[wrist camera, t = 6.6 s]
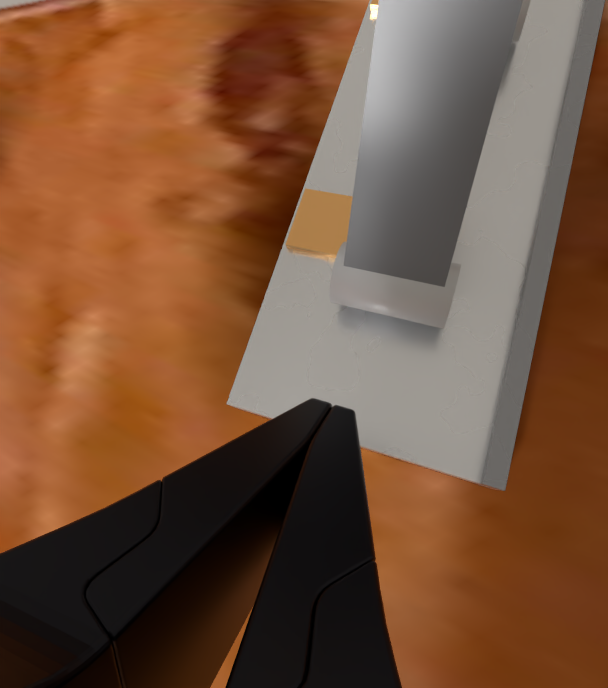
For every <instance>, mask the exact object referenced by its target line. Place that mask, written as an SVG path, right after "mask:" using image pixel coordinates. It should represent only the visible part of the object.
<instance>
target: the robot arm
mask: <svg viewBox="0 0 608 688" xmlns="http://www.w3.org/2000/svg"><path fill="white" fill-rule="evenodd" d="M375 559H376V558H375V551H374V543H373V536H372V529H371V522H370V515H369V507H368V500H367V493H366V486H365V478H364V471H363V464H362V457H361V450H360V442H359V435H358V428H357V421H356V414H355V411H354V410H352V409H349V408H346V407H343V406H339V405H334V406H333V407H332V404H331V403H329V402H326V401H322V400H319V399H315V398H311V399H308V400H306V401H305V402H303V403H301V404H299V405H297V406H295V407H293V408H292V409H290V410H288V411H286V412H284V413H282V414H280V415H279V416H277V417H275V418H273V419H271V420H269V421H267V422H266V423H264V424H262V425H260V426H258V427H256V428H254V429H253V430H251V431H249V432H247V433H245V434H243V435H241V436H239V437H238V438H236V439H234V440H232V441H230V442H228V443H226V444H225V445H223V446H221V447H219V448H217V449H215V450H213V451H212V452H210V453H208V454H206V455H204V456H202V457H200V458H199V459H197V460H195V461H193V462H191V463H189V464H187V465H186V466H184V467H182V468H180V469H178V470H176V471H174V472H173V473H171V474H169V475H167V476H165V477H163V479H162V481H161V480H157V481H155V482H154V483H152V484H150V485H148V486H146V487H144V488H142V489H141V490H139V491H137V492H135V493H133V494H131V495H129V496H127V497H125V498H123V499H121V500H119V501H117V502H115V503H113V504H111V505H109V506H107V507H105V508H103V509H101V510H99V511H96V512H94V513H92V514H90V515H88V516H85V517H83V518H81V519H79V520H77V521H74V522H72V523H70V524H68V525H65V526H63V527H61V528H58V529H56V530H54V531H52V532H49V533H47V534H45V535H42V536H40V537H38V538H35V539H33V540H31V541H28V542H26V543H24V544H21V545H19V546H17V547H14V548H12V549H10V550H7V551H5V552H3V553H0V688H210V687H211V685H212V683H213V681H214V679H215V677H216V675H217V673H218V671H219V670H220V668H221V666H222V664H223V662H224V660H225V658H226V656H227V654H228V653H229V651H230V649H231V647H232V645H233V643H234V641H235V639H236V637H237V635H238V634H239V632H240V630H241V628H242V626H243V624H244V622H245V620H246V618H247V616H248V615H249V613H250V611H251V609H252V607H253V609H252V612H251V615H250V618H249V621H248V624H247V626H246V629H245V632H244V635H243V638H242V641H241V644H240V647H239V650H238V653H237V656H236V659H235V662H234V664H233V667H232V670H231V673H230V676H229V679H228V682H227V685H226V688H402V686H401V682H400V678H399V675H398V671H397V667H396V663H395V659H394V654H393V650H392V646H391V642H390V637H389V633H388V629H387V625H386V619H385V614H384V608H383V602H382V596H381V591H380V584H379V577H378V570H377V564H376V562H375ZM253 605H254V606H253Z"/></svg>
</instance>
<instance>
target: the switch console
mask: <svg viewBox="0 0 608 688" xmlns="http://www.w3.org/2000/svg"><path fill="white" fill-rule="evenodd" d="M378 2H379V0H370V2H369V5H368V7H367V10H366V13H365V16H364V19H363V21H362V24H361V27H360V30H359V33H358V36H357V38H356V41H355V44H354V47H353V50H352V52H351V55H350V58H349V61H348V64H347V66H346V69H345V72H344V75H343V78H342V81H341V83H340V86H339V89H338V92H337V95H336V97H335V100H334V103H333V106H332V109H331V111H330V114H329V117H328V120H327V123H326V126H325V128H324V131H323V134H322V137H321V140H320V142H319V145H318V148H317V151H316V154H315V156H314V159H313V162H312V165H311V168H310V171H309V173H308V176H307V179H306V182H305V185H304V187H303V190H302V193H301V196H300V199H299V201H298V204H297V207H296V210H295V213H294V216H293V218H292V221H291V224H290V227H289V230H288V232H287V235H286V238H285V241H284V244H283V246H282V249H281V252H280V255H279V258H278V261H277V263H276V266H275V269H274V272H273V275H272V277H271V280H270V283H269V286H268V289H267V291H266V294H265V297H264V300H263V303H262V306H261V308H260V311H259V314H258V317H257V320H256V322H255V325H254V328H253V331H252V334H251V336H250V339H249V342H248V345H247V348H246V351H245V353H244V356H243V359H242V362H241V365H240V367H239V370H238V373H237V376H236V379H235V381H234V384H233V387H232V390H231V393H230V396H229V398H228V401H227V405H230V406H232V407H234V408H237V409H240V410H243V411H246V412H250V413H253V414H256V415H259V416H262V417H265V418H269V419H273V418H275V417H277V416H279V415H280V414H282V413H284V412H286V411H288V410H290V409H292V408H293V407H295V406H297V405H299V404H301V403H303V402H305V401H306V400H308V399H311V398H315V399H319V400H322V401H326V402H329V403H331V404H332V407H333V406H334V405H339V406H343V407H346V408H349V409H352V410H354V411H355V414H356V421H357V428H358V435H359V442H360V447H361V448H364V449H367V450H370V451H373V452H377V453H380V454H383V455H386V456H389V457H392V458H396V459H399V460H402V461H405V462H408V463H411V464H415V465H418V466H421V467H424V468H427V469H430V470H434V471H437V472H440V473H443V474H446V475H450V476H453V477H456V478H459V479H462V480H465V481H469V482H472V483H475V484H478V485H481V486H484V487H488V488H491V489H494V490H502V491H505V489H506V484H507V479H508V474H509V469H510V464H511V459H512V454H513V449H514V445H515V440H516V435H517V430H518V425H519V420H520V415H521V410H522V405H523V400H524V395H525V391H526V386H527V381H528V376H529V371H530V366H531V361H532V356H533V351H534V346H535V342H536V337H537V332H538V327H539V322H540V317H541V312H542V307H543V302H544V297H545V292H546V288H547V283H548V278H549V273H550V268H551V263H552V258H553V253H554V248H555V243H556V238H557V234H558V229H559V224H560V219H561V214H562V209H563V204H564V199H565V194H566V189H567V184H568V180H569V175H570V170H571V165H572V160H573V155H574V150H575V145H576V140H577V135H578V130H579V126H580V121H581V116H582V111H583V106H584V101H585V96H586V91H587V86H588V81H589V76H590V72H591V67H592V62H593V57H594V52H595V47H596V42H597V37H598V32H599V27H600V23H601V18H602V13H603V8H604V3H605V0H531V1H530V5H529V8H528V12H527V15H526V19H525V22H524V25H523V29H522V32H521V35H520V38H519V41H518V42H511V46H510V50H509V53H508V57H507V61H506V64H505V68H504V72H503V75H502V79H501V83H500V86H499V90H498V93H497V97H496V101H495V104H494V108H493V112H492V115H491V119H490V123H489V126H488V130H487V134H486V137H485V141H484V145H483V148H482V152H481V156H480V159H479V163H478V167H477V170H476V174H475V178H474V181H473V185H472V189H471V192H470V196H469V200H468V203H467V207H466V211H465V214H464V218H463V222H462V225H461V229H460V233H459V236H458V240H457V244H456V247H455V251H454V255H453V258H452V263H457V264H461V268H460V273H459V277H458V281H457V285H456V289H455V293H454V296H453V300H452V304H451V307H450V311H449V314H448V318H447V321H446V324H445V327H444V329H442V328H438V327H433V326H429V325H425V324H421V323H416V322H412V321H408V320H403V319H399V318H395V317H391V316H386V315H382V314H378V313H374V312H369V311H365V310H361V309H357V308H352V307H348V306H344V305H340V304H335V303H331V301H330V298H329V288H330V280H331V274H332V269H333V265H334V262H335V259H336V256H337V253H338V250H339V248H340V246H341V245H342V243H343V242H347V235H348V228H349V220H350V213H351V205H352V198H353V190H354V183H355V175H356V168H357V160H358V152H359V145H360V137H361V130H362V122H363V115H364V107H365V100H366V92H367V85H368V77H369V70H370V62H371V55H372V47H373V40H374V32H375V25H376V17H377V10H378Z"/></svg>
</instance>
